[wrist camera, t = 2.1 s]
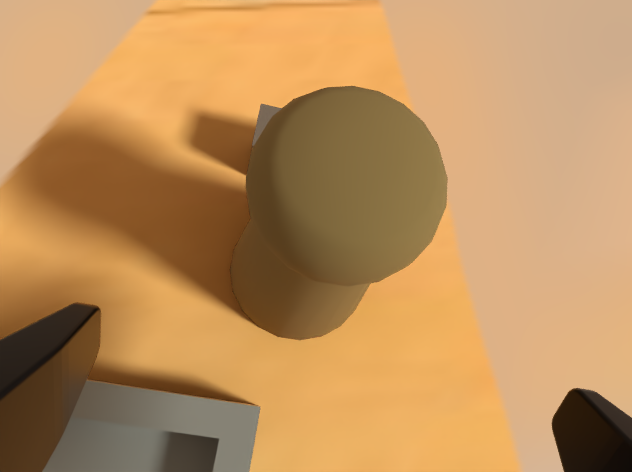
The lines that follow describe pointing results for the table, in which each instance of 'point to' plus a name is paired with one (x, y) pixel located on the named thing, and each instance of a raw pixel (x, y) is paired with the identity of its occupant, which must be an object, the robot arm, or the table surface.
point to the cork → (334, 208)
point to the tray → (154, 432)
